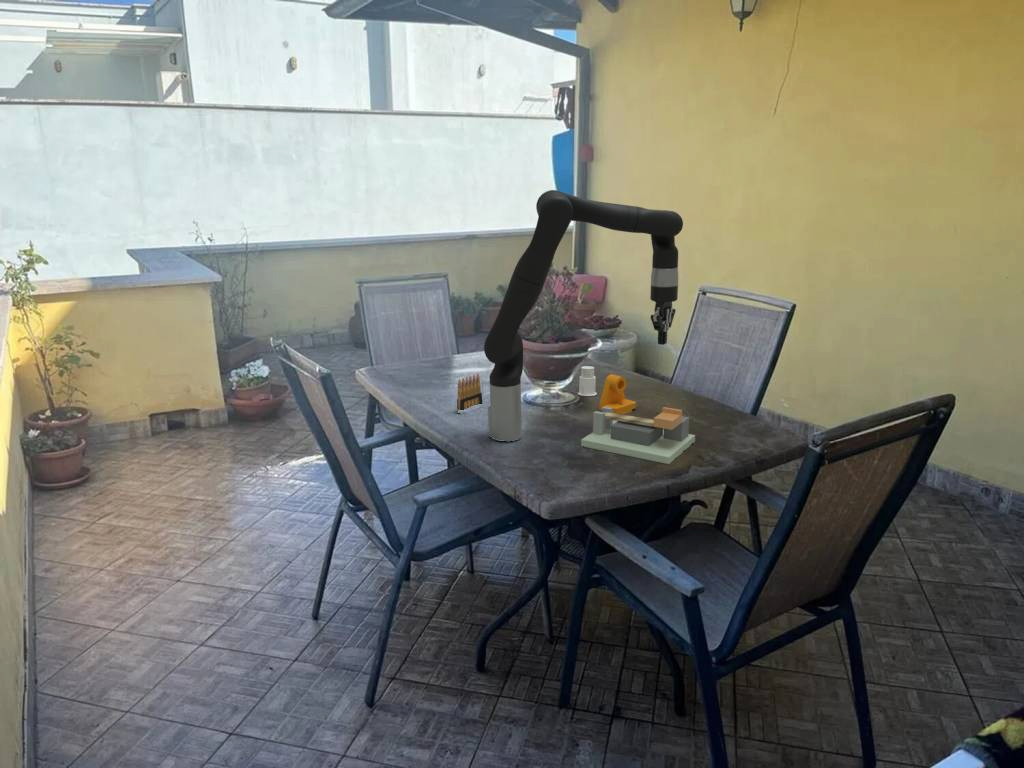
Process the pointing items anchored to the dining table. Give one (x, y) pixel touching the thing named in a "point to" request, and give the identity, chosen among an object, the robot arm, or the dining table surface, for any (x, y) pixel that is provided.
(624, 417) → the strap
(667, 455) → the board
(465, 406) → the ammunition clip
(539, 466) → the dining table surface
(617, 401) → the bracket
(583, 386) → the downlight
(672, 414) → the block
